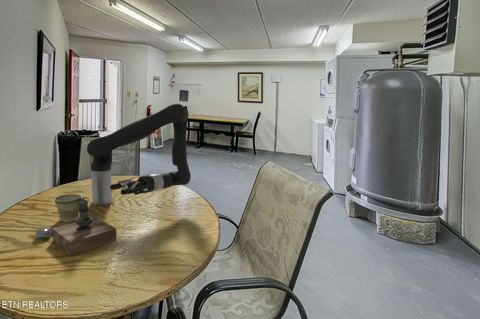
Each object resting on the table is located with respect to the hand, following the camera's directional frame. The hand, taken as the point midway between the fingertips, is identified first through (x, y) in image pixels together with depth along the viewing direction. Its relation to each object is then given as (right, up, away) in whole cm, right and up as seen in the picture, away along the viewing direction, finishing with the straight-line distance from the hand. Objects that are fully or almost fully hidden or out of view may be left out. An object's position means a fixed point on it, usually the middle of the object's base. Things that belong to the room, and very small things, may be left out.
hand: (115, 189), depth 121 cm
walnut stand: (-8, -18, -9) cm, 22 cm away
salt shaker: (-8, -14, -10) cm, 18 cm away
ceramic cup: (-23, -14, +11) cm, 29 cm away
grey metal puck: (-24, -17, -7) cm, 31 cm away
